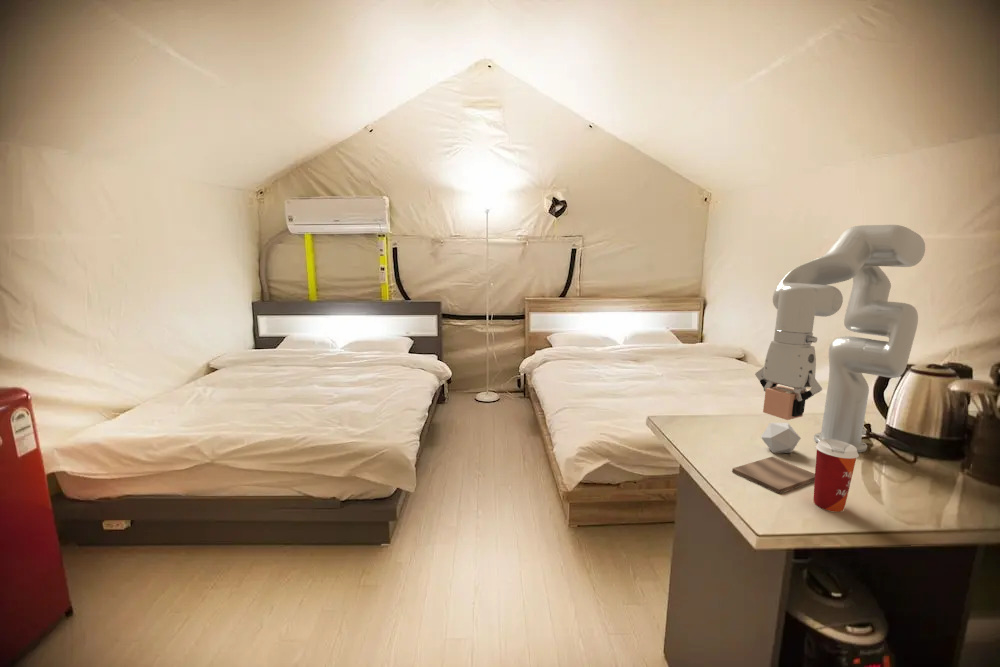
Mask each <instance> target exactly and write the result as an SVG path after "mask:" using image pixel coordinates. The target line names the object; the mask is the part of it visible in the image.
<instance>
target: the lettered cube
mask: <svg viewBox="0 0 1000 667" xmlns="http://www.w3.org/2000/svg"><path fill="white" fill-rule="evenodd" d="M764 392H765V394H764V401H763V409H762V410H763V411H762V413H764V414H767V415H770V416H774V417H777V418H780V419H783V420H786V421H789V420H793V419H798V418H802V417H803V415H804V413H803V414H802V415H801V416H797V417H793V416H792V411H793V403H794V400H796V395H795V391H794V388H792V387H788V386H784V385H777V387H772V388H766V391H764Z"/></svg>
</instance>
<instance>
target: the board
mask: <svg viewBox="0 0 1000 667" xmlns="http://www.w3.org/2000/svg"><path fill="white" fill-rule="evenodd" d="M731 473H733V474H736V475H737V476H740V477H742V478H743V479H746V480H749V481H751V482H753V483H754V484H757V485H759V486H761V487H764V488H765V489H768V490H771V491H772V492H775V493H776V494H782V493H785V492H788V491H790V490H793V489H796V488H799V487H801V486H805V485H806V484H809V483H813V482H815V472H812V471H809V470H807V469H804V468H802V467H799V466H797V465H793V464H792V463H789V462H786V461H783V460H781V459H779V458H776V457H775V456H769V457H766V458H763V459H760V460H756V461H753V462H750V463H747V464H742V465H739V466H736V467H733V468H732V470H731Z"/></svg>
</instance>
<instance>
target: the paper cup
mask: <svg viewBox="0 0 1000 667" xmlns="http://www.w3.org/2000/svg"><path fill="white" fill-rule="evenodd" d="M815 449H816V456H815V467H814V468H815V469H814V474H815V481H813V482H814V484H813V487H814V488H813V504H814V505H816V506H817V507H818V508H820V509H822V510H825V511H828V512H834V513H842V512H844V510H845V506H846V505H847V504H846V503H847V498H848V495H849V491H850V487H851V482H852V478H853V473H854V470H855V465H856V460H857V458H859V457H860V455H859V452H857V449H856V447H855V446H853V445H851V444H848V443H846V442H842V441H838V440H832V439H822V440H819V441H818V443H817V444H816V445H815Z"/></svg>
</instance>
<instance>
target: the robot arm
mask: <svg viewBox="0 0 1000 667" xmlns="http://www.w3.org/2000/svg"><path fill="white" fill-rule="evenodd" d="M924 240H925V239H924V238H923V237H922V236H921V234H919V233H917V232H916V231H914V230H912V229H911V228H909V227H907V226H905V225H900V224H870V225H869V224H867V225H863V224H862V225H855V226H851V227H849V228H847V229H846V230H844V231H843V232H842V233H841V235H840V236H839V237H838V238H837V239H836V241H834V243H833V244H832V246H831V247H830V248H829V249H828V250H827V251H826V253H825V254H823V255H822V256H820V257H818V258H815V259H814V258H813V259H812V260H810V261H807V262H805V263H803V264H800V265H798V266H795V267H794V268H792V269H791V270H790V271H788V272H787V273H786V274H785V276H784V277H783V278H782V279H781V280H780V281H779V283H778V284H777V286H776V287H775V289H774V292H773V295H772V305H773V306H774V308H775V309H776V310H777V312H776V320H775V326H774V333H773V334H774V336H773V340H772V341H770V343H769V346H768V350H767V353H766V356H765V361H764V364H763V365H764V366H763V367H762V368H761V369H759V370H757V371H756V372H755V374H754V375H755V377H756V378H757V379H758V381H759V383H760V384H761V386H762V388H763V392H765V391H766V388H772V387H777V386H784V387H787V388H791V389H794V391H795V395H796V400H794V403H793V411H792V416H793V417H797V416H801V415H802V414H803V415H804V411H805V406H806V401H807V400H808V399H810V398H812V397H813V396H814V395H816V394H818V393H820V392H821V391H823V388H822V386H821V385H820V383H819V382H818V381H817V380H816V372H817V371H816V369H817V358H816V349H815V346H813V345H812V344H813V343H815V344H816V343H817V342H818V337H817V336H814V333H813V330H814V324H815V323H814V322H815V317H830V316H833V315H835V314H836V313H838V312H839V311H840V309H841V307H842V305H843V302H844V296H843V293H842V292H841V291H840V289H839V288H837V287H836V286H833V285H834V284H838V283H843V282H847V281H850V280H851V279H852V288H851V290H850V291H851V292H850V294H849V298H848V299H849V300H848V302H847V306H846V309H845V314H844V319H843V320H844V321H843V322H844V323H843V324H844V327H845V329H847V330H848V331H849V332H853V333H858V334H862V335H863V334H865V335H870V336H880V337H884V338H885V337H886V338H888V341H885V340H880V339H872V338H865V337H859V336H858V337H857V336H850V335H849V336H847V335H845V336H840V337H837V338H835V339H833V340H832V341H831V343H830V344H829V348H828V362H829V363H828V364H829V365H828V366H829V373H828V382H827V388H826V389H827V390H826V397H825V402H824V403H825V404H824V411H823V417H822V426H821V432H817V433H815V434H814V436H813V439H814V441H815V442H816V443H817V444H818V441H819V440H822V439H832V440H838V441H842V442H846V443H848V444H851V445H853V446H855V447H856V449H857V453H863V452H866V451H867V450H868V445H867V443H865V442H864V441H863V440H862V437H863V436H864V435H866V434H867V430H866V429H865V428H864V424H865V418H866V412H867V406H868V401H869V399H868V398H869V393H870V388H869V384H868V382H867V380H866V378H865V377H864V375H863V374H867V375H872V376H878V377H884V378H891V379H894V378H899V377H900V376H902V375H903V374H904V373H905V371H906V368H907V366H908V362H909V359H910V354H911V351H912V347H913V345H914V344H913V343H914V340H915V336H916V332H917V328H918V323H919V313H918V310H917V309H916V307H915V306H913V305H912V304H909V303H906V302H899V301H898V302H897V301H888V300H889V297H890V296H889V295H890V291H891V288H892V284H891V280H890V279H889V277H888V276H887V275H886V272H884V270H883V269H881V267H892V268H894V267H895V268H910V267H915V266H917V265H918V264H919V263H920V262H921V261H922V260H923V258H924V256H925V253H926V243H925V241H924ZM807 388H810V389H809V390H808V391H807Z"/></svg>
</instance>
